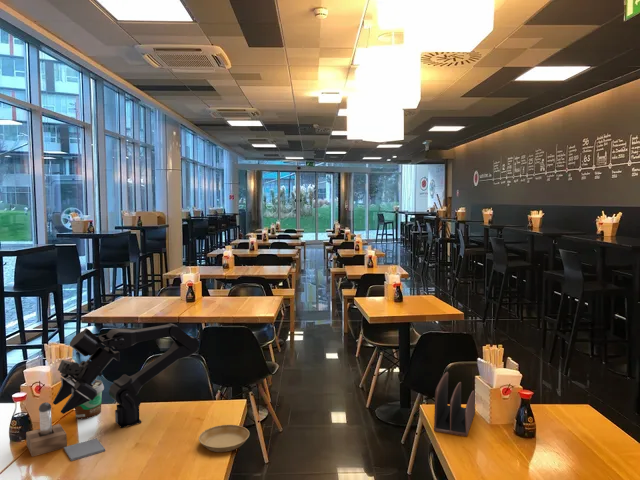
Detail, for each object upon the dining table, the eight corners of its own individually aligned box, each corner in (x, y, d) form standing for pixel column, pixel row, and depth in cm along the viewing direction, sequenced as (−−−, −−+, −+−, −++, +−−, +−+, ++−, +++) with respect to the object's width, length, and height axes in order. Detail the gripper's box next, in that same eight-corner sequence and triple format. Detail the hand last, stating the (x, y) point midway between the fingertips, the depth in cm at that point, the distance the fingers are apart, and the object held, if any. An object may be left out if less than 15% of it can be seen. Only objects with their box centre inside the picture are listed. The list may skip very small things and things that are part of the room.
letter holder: (433, 431, 153) (433, 387, 152) (445, 408, 171) (445, 368, 170) (467, 437, 149) (467, 391, 148) (475, 412, 167) (475, 371, 166)
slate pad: (96, 440, 149) (96, 438, 149) (105, 450, 142) (105, 448, 142) (63, 449, 144) (63, 447, 144) (71, 461, 137) (71, 458, 137)
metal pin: (51, 442, 148) (49, 399, 147) (53, 446, 146) (52, 402, 145) (39, 445, 146) (37, 402, 145) (41, 449, 144) (39, 405, 143)
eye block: (60, 436, 152) (59, 423, 152) (66, 446, 145) (66, 433, 145) (26, 445, 147) (26, 432, 146) (31, 456, 140) (31, 442, 139)
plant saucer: (238, 458, 138) (238, 449, 138) (190, 453, 141) (189, 444, 141) (256, 435, 152) (256, 426, 152) (211, 430, 155) (211, 422, 155)
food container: (89, 422, 162) (88, 392, 162) (73, 421, 164) (71, 391, 163) (112, 407, 174) (111, 380, 174) (96, 406, 176) (95, 379, 175)
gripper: (67, 344, 157) (28, 386, 151) (84, 356, 143) (42, 403, 136) (93, 363, 163) (58, 404, 156) (113, 377, 149) (74, 423, 142)
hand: (57, 408), depth 148 cm, fingers open, 9 cm apart
